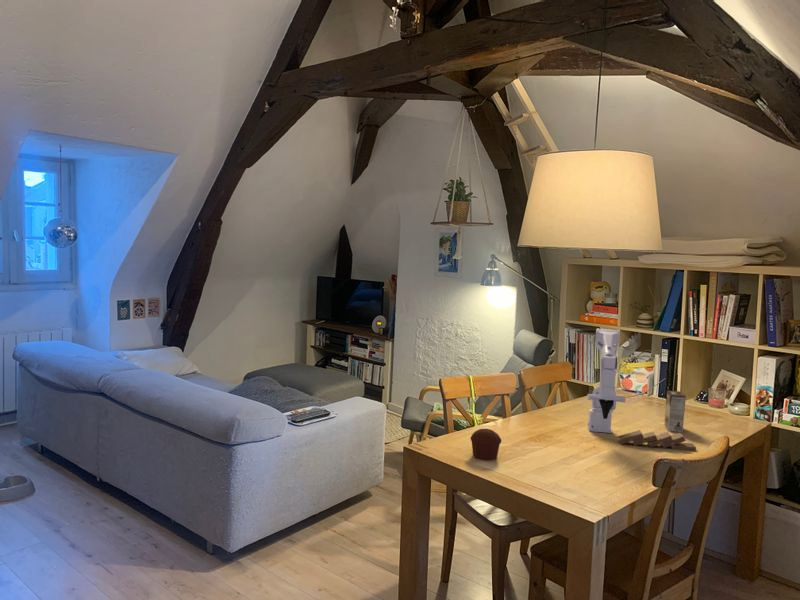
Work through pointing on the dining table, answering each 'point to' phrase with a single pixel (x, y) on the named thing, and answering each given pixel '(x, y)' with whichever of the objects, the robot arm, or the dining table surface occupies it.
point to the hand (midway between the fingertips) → (604, 418)
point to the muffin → (485, 444)
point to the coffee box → (674, 411)
